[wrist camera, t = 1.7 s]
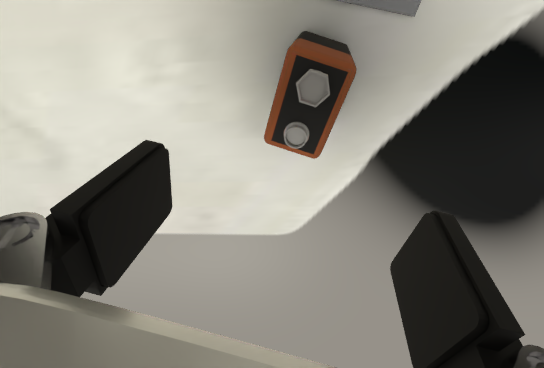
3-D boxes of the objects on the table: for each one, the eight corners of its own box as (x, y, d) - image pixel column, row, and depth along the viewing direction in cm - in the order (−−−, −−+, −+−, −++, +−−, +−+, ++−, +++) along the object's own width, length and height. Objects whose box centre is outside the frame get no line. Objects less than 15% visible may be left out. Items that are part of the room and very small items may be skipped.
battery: (350, 45, 22) (362, 70, 14) (321, 117, 26) (317, 168, 18) (301, 28, 22) (286, 44, 14) (280, 104, 26) (258, 149, 18)
